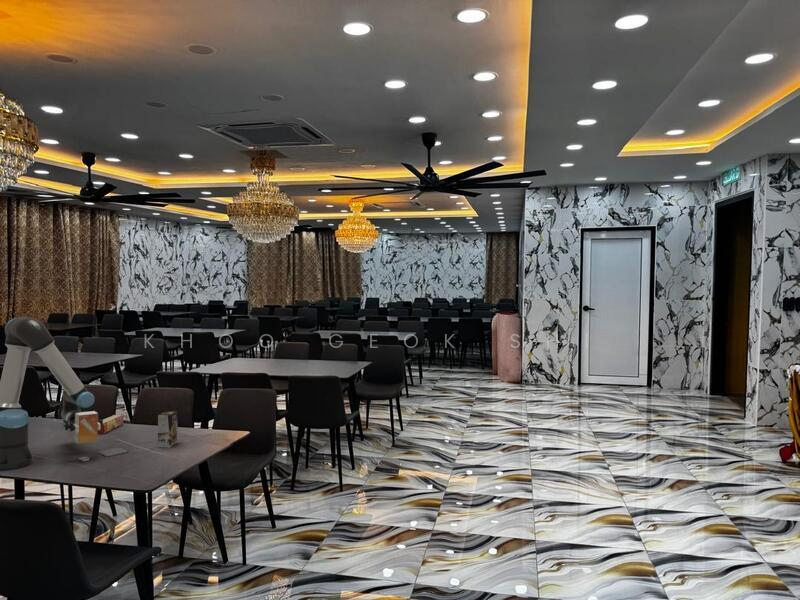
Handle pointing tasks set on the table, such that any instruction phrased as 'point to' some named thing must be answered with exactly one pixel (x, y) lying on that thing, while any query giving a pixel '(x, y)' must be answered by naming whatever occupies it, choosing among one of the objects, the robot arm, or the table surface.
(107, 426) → the snack package
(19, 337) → the robot arm
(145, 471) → the table surface
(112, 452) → the gray slab
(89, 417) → the small box
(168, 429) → the coffee box
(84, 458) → the tiles
